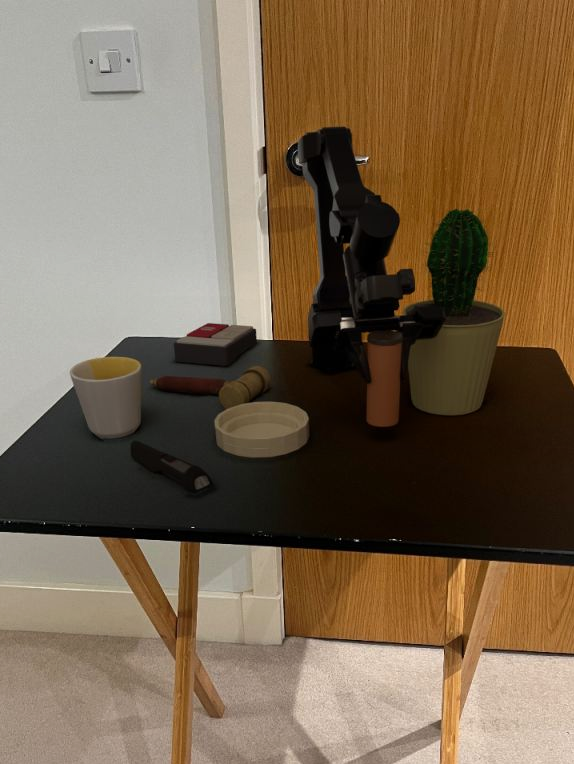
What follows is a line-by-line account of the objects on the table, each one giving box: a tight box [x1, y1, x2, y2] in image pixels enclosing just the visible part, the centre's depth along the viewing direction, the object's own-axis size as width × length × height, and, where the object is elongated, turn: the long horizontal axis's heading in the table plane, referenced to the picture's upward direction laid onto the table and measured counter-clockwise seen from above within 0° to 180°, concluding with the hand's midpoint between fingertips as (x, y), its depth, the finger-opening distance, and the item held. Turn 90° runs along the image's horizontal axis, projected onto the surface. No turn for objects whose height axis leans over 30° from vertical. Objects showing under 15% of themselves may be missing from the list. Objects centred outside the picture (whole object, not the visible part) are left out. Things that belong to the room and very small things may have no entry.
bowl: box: [213, 401, 310, 459], centre depth 111 cm, size 14×14×4 cm
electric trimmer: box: [130, 440, 214, 494], centre depth 103 cm, size 4×16×3 cm, turn 45°
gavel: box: [149, 365, 272, 410], centre depth 128 cm, size 21×5×10 cm
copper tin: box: [366, 330, 403, 428], centre depth 106 cm, size 5×5×12 cm
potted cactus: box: [401, 205, 506, 416], centre depth 116 cm, size 15×15×30 cm
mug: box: [69, 356, 143, 440], centre depth 115 cm, size 14×10×10 cm
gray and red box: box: [173, 322, 258, 367], centre depth 147 cm, size 11×4×15 cm
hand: (386, 381), depth 104 cm, fingers closed on copper tin, 4 cm apart
